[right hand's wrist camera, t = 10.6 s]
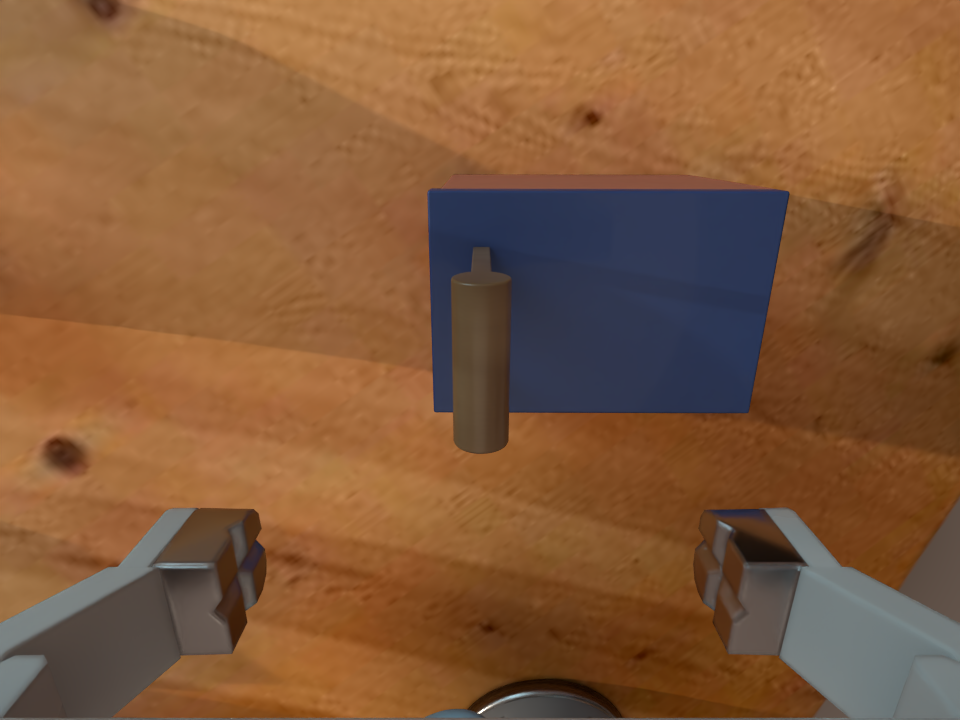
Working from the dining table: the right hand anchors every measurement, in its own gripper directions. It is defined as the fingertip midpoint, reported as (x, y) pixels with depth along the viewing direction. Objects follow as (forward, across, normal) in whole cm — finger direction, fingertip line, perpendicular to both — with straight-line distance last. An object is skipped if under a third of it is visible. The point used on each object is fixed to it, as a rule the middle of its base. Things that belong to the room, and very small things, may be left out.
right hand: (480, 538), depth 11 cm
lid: (+16, +5, 0) cm, 17 cm away
